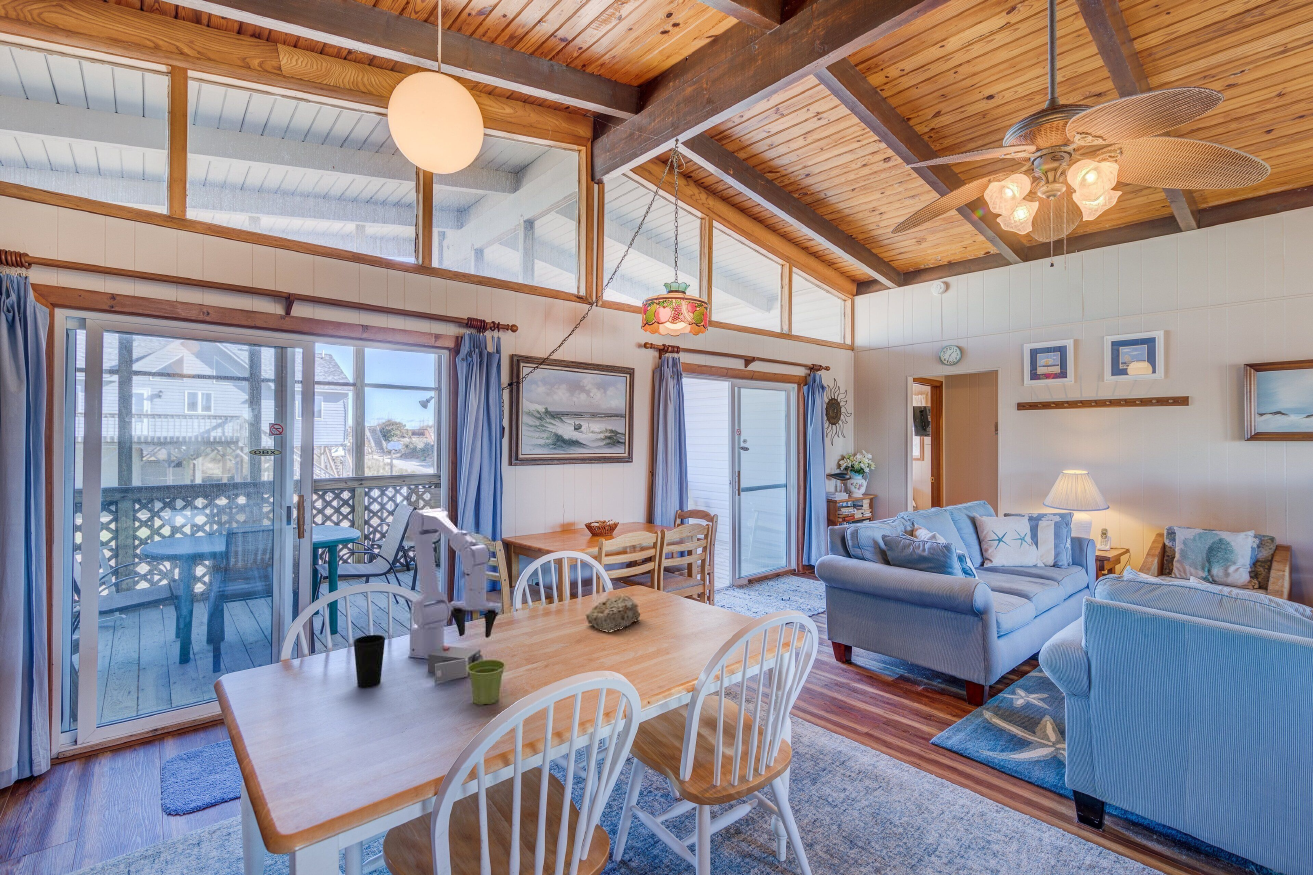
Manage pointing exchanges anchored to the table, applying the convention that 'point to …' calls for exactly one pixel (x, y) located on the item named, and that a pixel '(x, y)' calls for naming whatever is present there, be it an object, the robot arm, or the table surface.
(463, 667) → the side door
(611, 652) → the table surface
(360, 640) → the cup
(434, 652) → the camera body
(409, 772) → the table surface
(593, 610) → the rock
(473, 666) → the plant pot
